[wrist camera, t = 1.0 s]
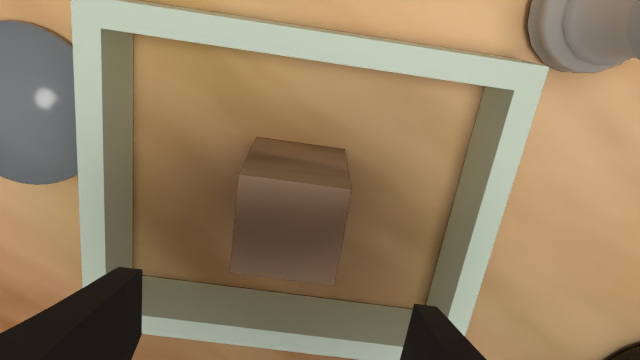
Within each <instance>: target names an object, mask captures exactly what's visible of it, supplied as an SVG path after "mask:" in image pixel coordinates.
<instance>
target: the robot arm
mask: <svg viewBox="0 0 640 360" xmlns="http://www.w3.org/2000/svg"><path fill="white" fill-rule="evenodd" d="M141 334H142V270H141V269H133V268H125V267H117V268H116V269H114V270H112V271H110V272H108V273H107V274H105V275H103V276H102V277H100V278H98V279H97V280H95V281H94V282H92V283H90V284H89V285H87V286H85V287H84V288H82V289H80V290H79V291H77V292H75V293H74V294H72V295H70V296H69V297H67V298H65V299H63V300H62V301H60V302H58V303H57V304H55V305H53V306H51V307H50V308H48V309H46V310H44V311H42V312H40V313H38V314H37V315H35V316H33V317H31V318H29V319H27V320H25V321H24V322H22V323H20V324H18V325H16V326H14V327H12V328H10V329H8V330H6V331H4V332H2V333H0V360H131V359H132V356H133V354H134V352H135V349H136V347H137V344H138V342H139V339H140V337H141ZM400 360H486V359H485V358H484V357H483V356H482V355H481V354H480V352H479V351H478V350H477V349H476V348H475V347H474V346H473V345H472V344H471V343H470V342H469V341H468V340H467V339H466V338H465V336H464V335H463V334H462V333H461V332H460V331H459V330H458V329H457V328H456V327H455V325H454V324H453V323H452V322H451V321H450V320H449V319H448V318H447V317H446V316H445V315H444V314H443V312H442V311H441V310H440V309H439V308H438V307H436V306H428V305H420V304H414V307H413V311H412V315H411V319H410V322H409V326H408V330H407V334H406V338H405V342H404V346H403V349H402V353H401V357H400Z"/></svg>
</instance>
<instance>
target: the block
mask: <svg viewBox="0 0 640 360" xmlns="http://www.w3.org/2000/svg"><path fill="white" fill-rule="evenodd" d="M351 192H352V187H351V182H350V176H349V170H348V165H347V159H346V153H345V149H339V148H332V147H325V146H318V145H311V144H304V143H297V142H290V141H283V140H276V139H269V138H261V137H257V138H256V140H255V142H254V144H253V146H252V148H251V150H250V152H249V154H248V156H247V158H246V160H245V162H244V164H243V166H242V168H241V171H240V173H239V176H238V187H237V198H236V209H235V220H234V231H233V243H232V254H231V265H230V273H236V274H244V275H252V276H260V277H267V278H275V279H283V280H291V281H299V282H307V283H315V284H323V285H331V286H334V284H335V279H336V274H337V268H338V263H339V257H340V252H341V246H342V241H343V236H344V230H345V225H346V219H347V214H348V208H349V203H350V198H351Z"/></svg>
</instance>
